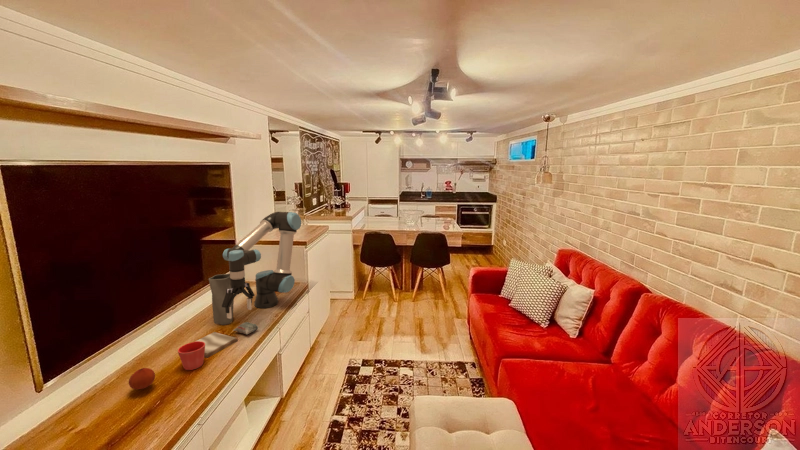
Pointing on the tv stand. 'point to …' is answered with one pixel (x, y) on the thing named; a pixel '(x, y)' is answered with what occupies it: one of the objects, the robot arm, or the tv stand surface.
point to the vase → (220, 298)
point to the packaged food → (246, 328)
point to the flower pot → (192, 355)
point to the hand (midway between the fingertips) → (239, 313)
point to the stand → (216, 343)
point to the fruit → (142, 378)
